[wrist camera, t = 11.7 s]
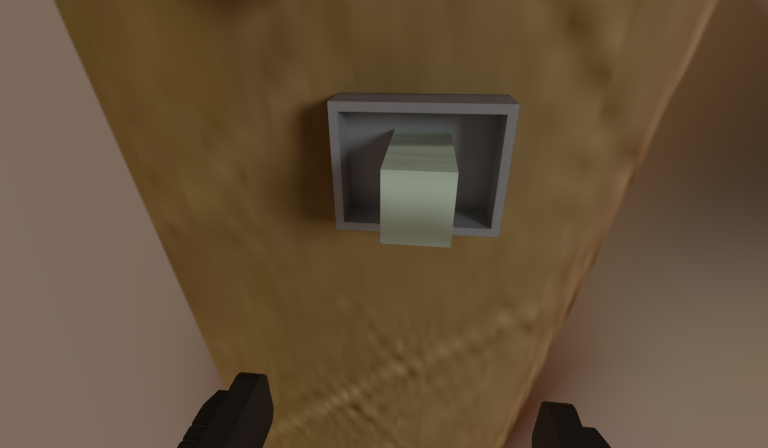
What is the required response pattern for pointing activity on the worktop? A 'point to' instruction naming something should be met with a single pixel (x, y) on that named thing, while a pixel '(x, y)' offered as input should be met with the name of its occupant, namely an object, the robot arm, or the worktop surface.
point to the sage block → (418, 188)
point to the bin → (428, 112)
